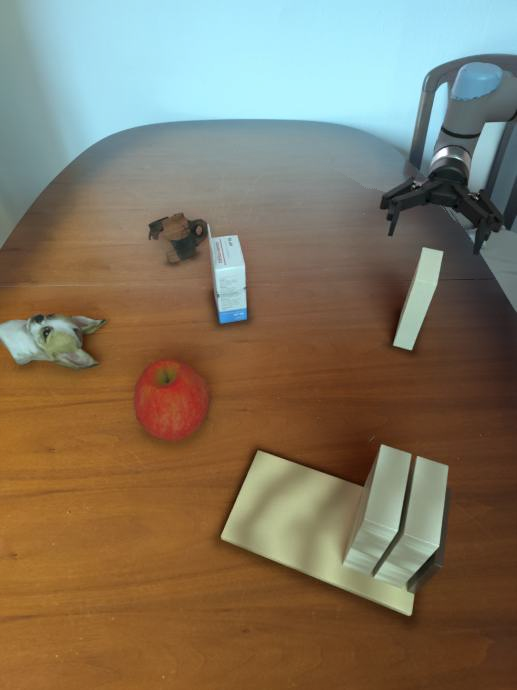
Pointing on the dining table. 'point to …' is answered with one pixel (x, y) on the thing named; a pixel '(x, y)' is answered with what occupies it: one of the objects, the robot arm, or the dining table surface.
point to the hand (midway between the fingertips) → (434, 238)
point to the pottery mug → (179, 235)
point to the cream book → (418, 297)
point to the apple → (171, 400)
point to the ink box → (228, 277)
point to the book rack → (348, 523)
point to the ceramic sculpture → (50, 339)
